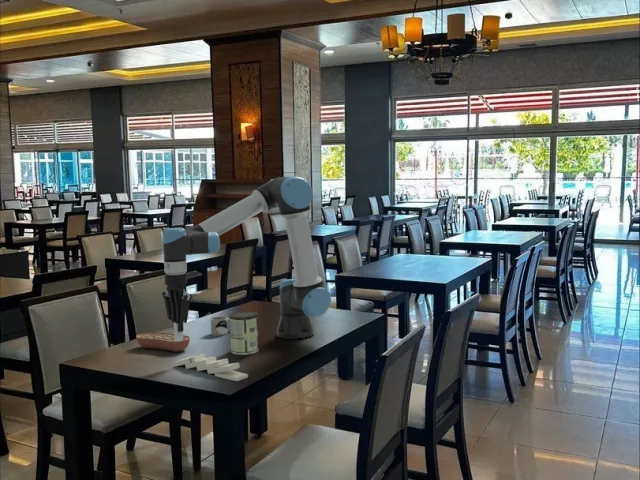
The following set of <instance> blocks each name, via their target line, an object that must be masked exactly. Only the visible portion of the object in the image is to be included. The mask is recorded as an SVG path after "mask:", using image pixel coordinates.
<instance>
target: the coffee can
mask: <svg viewBox="0 0 640 480" xmlns="http://www.w3.org/2000/svg"><path fill="white" fill-rule="evenodd" d="M229 318H230V321H229V327H230V330H229V333H230V348H231V349H230V352H231V354H233V355H239V356H245V355H246V356H247V355H252V354H256V353H258V352H259V331H258V327H259V326H258V313H257V312H256V311H252V310H251V311H249V310H248V311H247V310H242V311H235V312H232V313H230V314H229Z"/></svg>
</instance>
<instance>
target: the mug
mask: <svg viewBox="0 0 640 480" xmlns="http://www.w3.org/2000/svg"><path fill="white" fill-rule="evenodd" d="M228 322H230V317H227V316H213V317H211V318H210V326H211V328H210V331H211V332H210V333H211V334H210V335H211V336H213V337H214V336H215V337H216V336H217V337H222V336H227V335H228V332H230V326H229V327H228Z"/></svg>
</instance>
